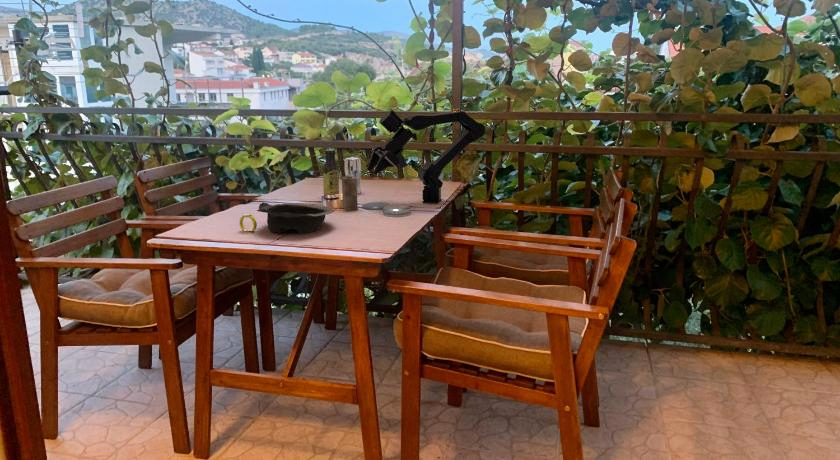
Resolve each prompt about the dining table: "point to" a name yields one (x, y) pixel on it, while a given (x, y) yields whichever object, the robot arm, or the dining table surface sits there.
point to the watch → (250, 218)
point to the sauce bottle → (330, 174)
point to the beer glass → (354, 170)
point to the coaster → (375, 206)
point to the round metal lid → (396, 210)
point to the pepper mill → (349, 193)
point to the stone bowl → (294, 216)
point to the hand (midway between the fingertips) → (371, 172)
